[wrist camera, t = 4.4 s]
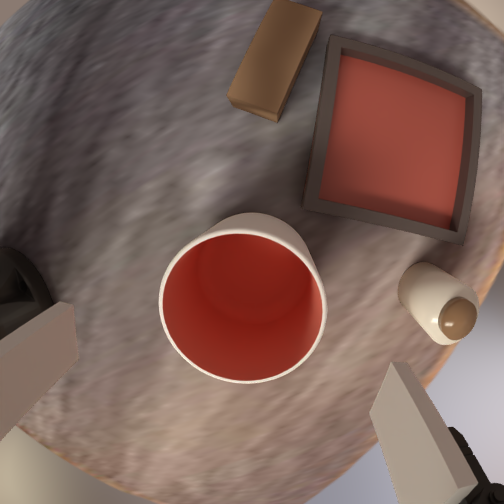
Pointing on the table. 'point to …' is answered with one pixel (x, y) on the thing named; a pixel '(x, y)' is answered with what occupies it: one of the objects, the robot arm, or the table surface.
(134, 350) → the table surface
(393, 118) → the tray
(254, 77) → the box
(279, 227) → the cup
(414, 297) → the ceramic jar
